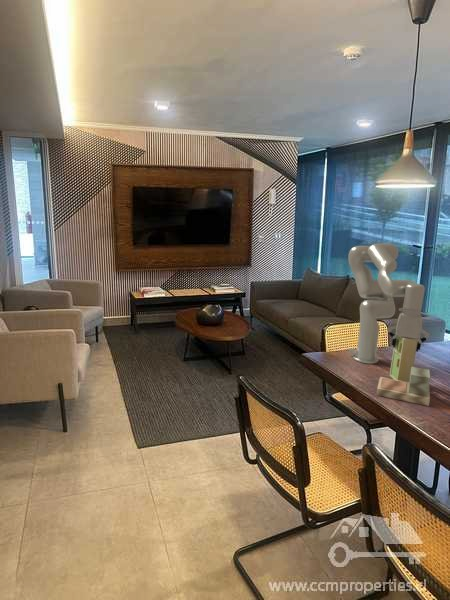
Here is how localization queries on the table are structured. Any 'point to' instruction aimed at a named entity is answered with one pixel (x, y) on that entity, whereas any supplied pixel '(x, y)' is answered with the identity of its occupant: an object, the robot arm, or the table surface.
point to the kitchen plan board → (407, 387)
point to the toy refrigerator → (403, 358)
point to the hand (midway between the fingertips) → (405, 348)
